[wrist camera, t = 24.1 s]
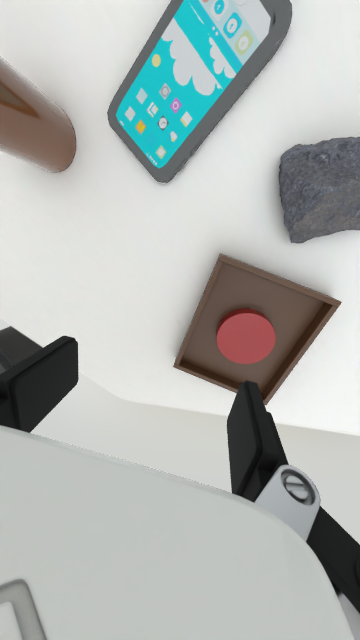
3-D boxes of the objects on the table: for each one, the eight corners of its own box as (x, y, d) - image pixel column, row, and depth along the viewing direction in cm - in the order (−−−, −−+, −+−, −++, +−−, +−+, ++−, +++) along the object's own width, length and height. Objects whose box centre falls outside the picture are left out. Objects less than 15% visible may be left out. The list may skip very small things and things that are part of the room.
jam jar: (72, 180, 23) (-35, 136, 13) (24, 161, 23) (-116, 104, 13) (79, 113, 20) (-44, -3, 11) (25, 92, 20) (-144, -39, 11)
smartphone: (302, 16, 15) (162, 187, 20) (297, 30, 16) (164, 190, 21) (227, -104, 13) (99, 113, 19) (226, -82, 14) (105, 119, 20)
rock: (248, 190, 21) (306, 268, 21) (253, 162, 15) (331, 266, 16) (339, 107, 18) (407, 199, 18) (385, 35, 12) (480, 167, 12)
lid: (230, 299, 24) (231, 304, 22) (282, 321, 23) (287, 326, 22) (208, 344, 26) (207, 351, 25) (255, 364, 26) (258, 372, 25)
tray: (262, 394, 28) (266, 405, 26) (175, 358, 29) (172, 367, 27) (331, 297, 22) (342, 302, 20) (220, 253, 23) (220, 254, 21)
